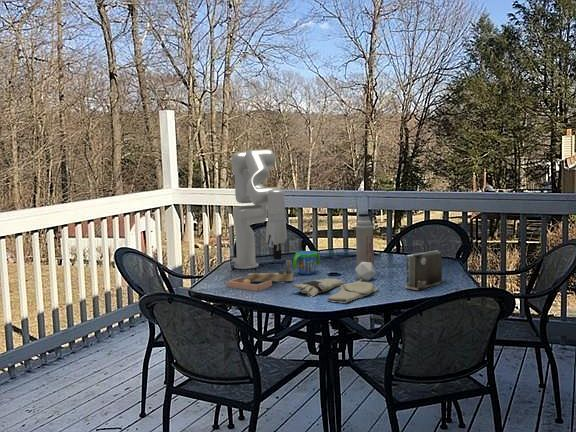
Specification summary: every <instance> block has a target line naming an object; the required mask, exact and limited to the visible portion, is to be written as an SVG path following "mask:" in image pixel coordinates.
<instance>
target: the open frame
mask: <svg viewBox="0 0 576 432" xmlns="http://www.w3.org/2000/svg"><path fill="white" fill-rule="evenodd" d="M244 280H245V279H244V276H239V277H237V278H233V279H231V280H227V281H226V287H227V288H229V289H230V288H232V289H238V290H239V289H240V290H247V291H253V292H259V291H262V290H265V289H267V288H270V287H273V281H272V280H269V281H262V282H261V283H258V284H256V283H254V284H253V283H251V284H248V283H243V281H244Z"/></svg>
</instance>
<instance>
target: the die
mask: <svg viewBox="0 0 576 432" xmlns="http://www.w3.org/2000/svg"><path fill="white" fill-rule="evenodd" d="M354 271H355V274H356V276H357V278H358V281H359V280H360V279H362V281H366V282H369V281H370V280H371V279H372V278H373V277H374V275H376V274H377V272H376V269H375V266H374V267H373V265H372V263H370V262H361V263H360V264H359V265H358V266H357V265H356V267H355V268H354Z"/></svg>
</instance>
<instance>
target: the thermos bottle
mask: <svg viewBox="0 0 576 432" xmlns="http://www.w3.org/2000/svg"><path fill="white" fill-rule="evenodd" d="M372 224H373V223H372V220H370V214H369V213H359V214H358V220H357V221H356V226H355V246H356V248H355V250H356V254H355V255H356V267H357V266H358V265H359V264H360V263H361V262H370V263H372V265H373V267H374V268H375V262H374V261H375V260H374V259H375V257H374V254H375V253H374V225H372Z"/></svg>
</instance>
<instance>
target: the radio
mask: <svg viewBox="0 0 576 432" xmlns="http://www.w3.org/2000/svg"><path fill="white" fill-rule="evenodd" d="M442 257H443V256H442V253H441V251H440V250H437V249H436V250H431V251H425V252H419V253H412V254H407V255H406V284H405V285H404V289H409V290H412V291H413V290H415V291H420V290H423V289H426V288H431V287H435V286H438V285H440V284H441V283H443V277H442V276H443V273H442V271H443V269H442V268H443V263H442V261H443V260H442Z"/></svg>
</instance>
